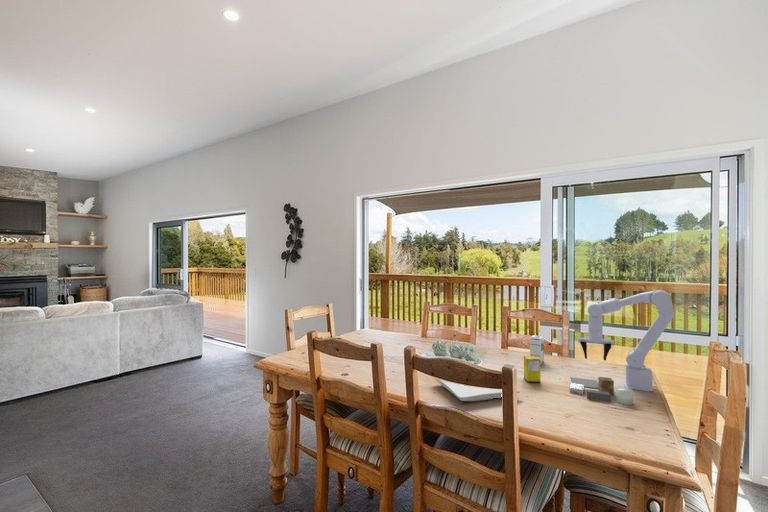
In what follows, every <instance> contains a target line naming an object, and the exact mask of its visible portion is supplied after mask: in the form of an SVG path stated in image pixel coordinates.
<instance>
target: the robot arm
mask: <svg viewBox="0 0 768 512" xmlns="http://www.w3.org/2000/svg"><path fill="white" fill-rule="evenodd" d="M639 303H645V304H651V303H652V304H653V306H655V307H656V310H657V312H658V316H657V317H656V319H655V320H654V321H653V322H652V323H651V325H650V327H649V328H648V329H647V331H646V333H645V334H644V336H643V337H642V338H641V339H640V341H639V342H638V344H637V345H636V346H635V347H634V348H633V349H631V350H629V351H628V354H627V356H626V358H625V360H626V364H625V381H623V382H622V383H623V385H624V387H626V388H629V389H632V390H635V391H644V392H645V391H646V392H654V391H653V372H652V371H653V370H652V369H651V368H649V367H646V365H645V364H644V363H645V360H646V359H645V358H646V357H647V355H648V354H649V351H650V350H652V347H653V346H654V345H655V343H656V342H657V341H658V340H659V338H660V337H661V336H662V333H664V331H665V330H666V329H667V328H668V326H669V325H670V323H671V322H672V320H673V319H674V317H675V314H674V307H673V299H672V297H671V296H670V294H669V292H667V291H666V290H664V289H656V290H654V291H653V290H652V291H644V292H641V293H638V294H634V295H631V296H627V297H625V298H621V299H618V298H616V297H613V298H612V297H610V298H608V299H606V300H603V301H597V303H595V302H594V303H592V304H590V305H589V306H588V307H587V313H588V321H587V323H588V324H587V326H588V329H587V334H588V335H587V337H580V336H579V337H577V343H579V344H580V346H581V348H582V351H583V355H584V359H586V360H587V359H588V354H587V353H588V352H587V351H588V350H587V349H588V345H587V343H588V344H596V345H597V344H598V345H603V361H607V357H608V354H609V352H610V351H611V349H612V346H614V345H615V341H614V340H613V339H607V338H603V315H607V314H611V313H614V312H619V311H621V309H622V307H626V306H631V305H633V304H639Z"/></svg>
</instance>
